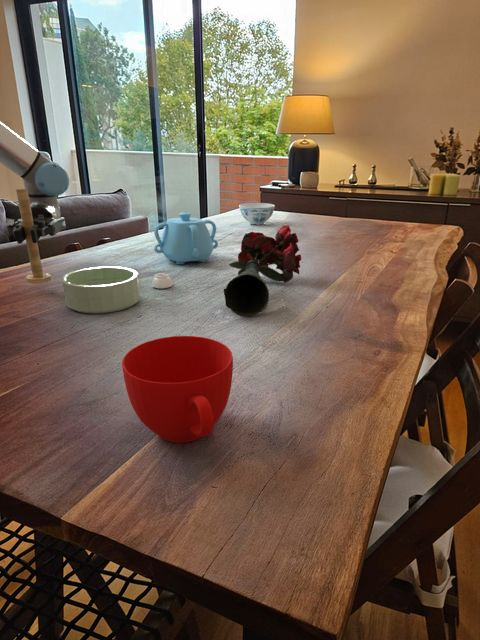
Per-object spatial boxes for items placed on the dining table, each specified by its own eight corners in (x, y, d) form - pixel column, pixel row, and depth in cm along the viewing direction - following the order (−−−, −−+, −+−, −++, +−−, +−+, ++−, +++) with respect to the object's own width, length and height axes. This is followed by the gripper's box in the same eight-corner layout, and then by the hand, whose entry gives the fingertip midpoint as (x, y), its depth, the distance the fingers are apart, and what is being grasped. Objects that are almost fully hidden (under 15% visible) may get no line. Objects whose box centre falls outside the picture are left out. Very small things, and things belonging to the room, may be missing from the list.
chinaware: (276, 221, 201) (277, 203, 198) (271, 227, 188) (271, 208, 184) (243, 220, 203) (243, 202, 200) (235, 226, 190) (235, 206, 187)
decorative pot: (224, 257, 141) (223, 211, 135) (195, 269, 128) (193, 219, 122) (181, 251, 147) (178, 207, 141) (149, 262, 134) (144, 214, 128)
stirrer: (23, 279, 106) (4, 188, 97) (46, 276, 109) (30, 187, 101) (30, 284, 102) (12, 191, 94) (54, 280, 106) (38, 189, 97)
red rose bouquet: (253, 350, 98) (260, 291, 128) (323, 299, 92) (313, 250, 122) (203, 296, 92) (223, 248, 123) (273, 239, 86) (276, 203, 117)
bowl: (55, 300, 102) (50, 274, 99) (120, 287, 111) (117, 263, 109) (84, 320, 91) (79, 291, 89) (153, 303, 101) (150, 277, 98)
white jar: (150, 284, 113) (154, 290, 109) (149, 273, 112) (153, 278, 108) (169, 282, 115) (175, 288, 111) (169, 271, 114) (174, 276, 110)
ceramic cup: (151, 495, 47) (141, 413, 43) (122, 413, 61) (113, 345, 57) (264, 462, 52) (265, 386, 48) (213, 393, 66) (211, 329, 62)
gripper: (74, 233, 120) (67, 252, 100) (10, 235, 116) (-11, 256, 96) (69, 203, 117) (61, 217, 97) (3, 204, 113) (-19, 219, 93)
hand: (25, 236), depth 96 cm, fingers closed on stirrer, 2 cm apart
